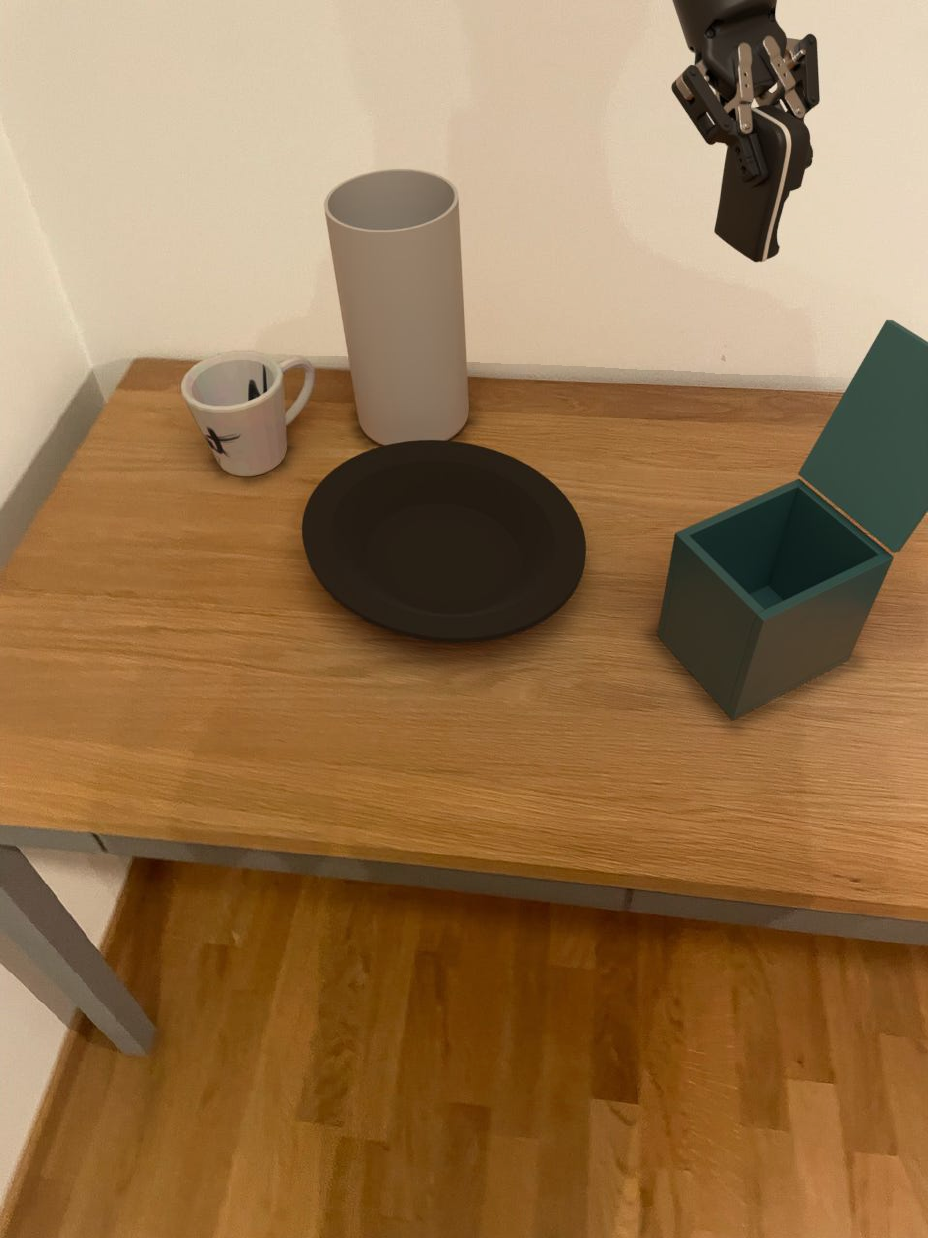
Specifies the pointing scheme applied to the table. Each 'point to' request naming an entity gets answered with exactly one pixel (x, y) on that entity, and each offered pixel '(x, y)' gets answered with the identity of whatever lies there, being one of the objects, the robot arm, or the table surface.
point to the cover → (879, 440)
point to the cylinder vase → (401, 302)
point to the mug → (244, 407)
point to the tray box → (769, 595)
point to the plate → (444, 541)
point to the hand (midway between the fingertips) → (780, 175)
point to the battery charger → (763, 185)
